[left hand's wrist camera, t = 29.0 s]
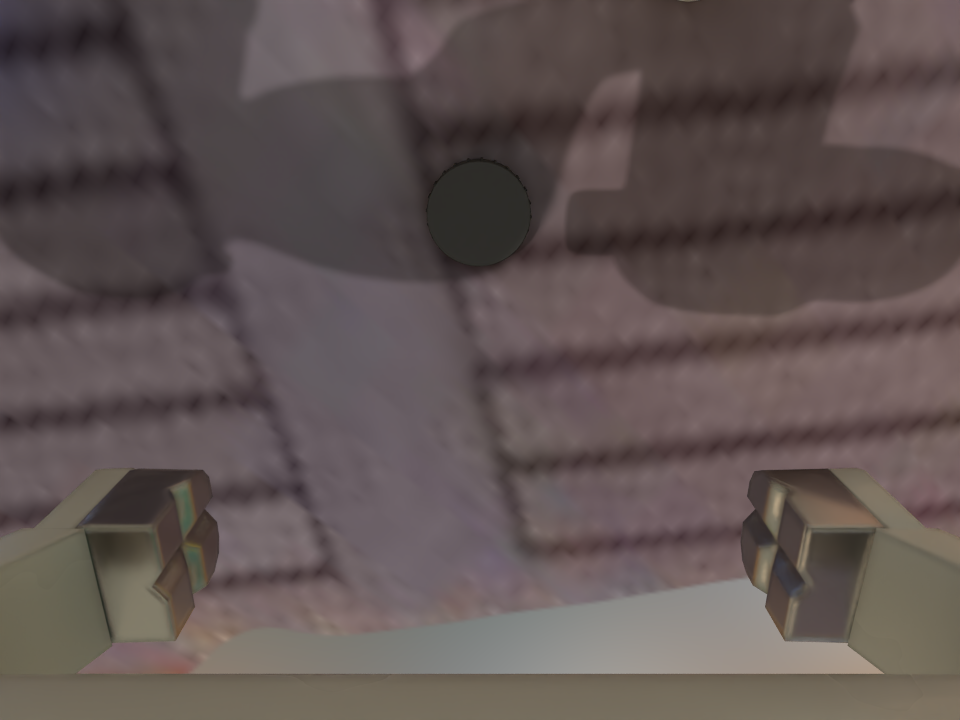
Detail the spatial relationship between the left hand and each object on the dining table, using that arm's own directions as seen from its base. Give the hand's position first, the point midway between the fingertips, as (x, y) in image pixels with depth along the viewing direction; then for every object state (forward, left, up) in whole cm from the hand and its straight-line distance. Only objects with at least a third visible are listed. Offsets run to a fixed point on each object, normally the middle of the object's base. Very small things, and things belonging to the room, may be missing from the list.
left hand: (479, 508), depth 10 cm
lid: (0, 0, -28) cm, 28 cm away
